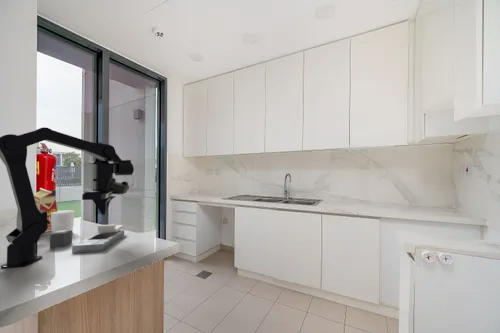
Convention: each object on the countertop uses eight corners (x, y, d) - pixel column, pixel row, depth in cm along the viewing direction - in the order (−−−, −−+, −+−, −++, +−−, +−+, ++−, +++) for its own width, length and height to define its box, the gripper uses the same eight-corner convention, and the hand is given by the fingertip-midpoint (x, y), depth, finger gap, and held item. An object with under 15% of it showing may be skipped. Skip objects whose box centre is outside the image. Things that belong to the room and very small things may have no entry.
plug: (63, 247, 77) (64, 232, 77) (49, 247, 76) (50, 233, 76) (71, 242, 82) (72, 229, 82) (58, 243, 81) (59, 229, 81)
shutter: (114, 233, 85) (115, 225, 85) (96, 233, 84) (96, 226, 84) (123, 227, 93) (123, 220, 93) (106, 228, 92) (106, 221, 92)
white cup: (78, 231, 96) (79, 210, 96) (61, 237, 88) (62, 213, 88) (63, 231, 96) (63, 209, 97) (45, 236, 89) (45, 213, 89)
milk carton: (24, 232, 95) (25, 188, 95) (48, 227, 104) (49, 187, 104) (37, 234, 92) (38, 189, 92) (61, 228, 101) (62, 187, 101)
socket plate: (103, 251, 73) (103, 244, 74) (72, 252, 72) (72, 245, 72) (124, 235, 90) (124, 230, 90) (98, 237, 88) (98, 231, 88)
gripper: (115, 176, 76) (115, 219, 75) (134, 175, 94) (134, 209, 94) (81, 176, 74) (80, 220, 73) (107, 175, 92) (106, 210, 92)
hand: (103, 214), depth 83 cm, fingers closed
